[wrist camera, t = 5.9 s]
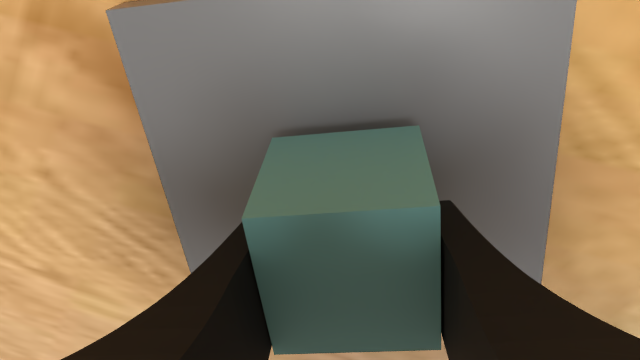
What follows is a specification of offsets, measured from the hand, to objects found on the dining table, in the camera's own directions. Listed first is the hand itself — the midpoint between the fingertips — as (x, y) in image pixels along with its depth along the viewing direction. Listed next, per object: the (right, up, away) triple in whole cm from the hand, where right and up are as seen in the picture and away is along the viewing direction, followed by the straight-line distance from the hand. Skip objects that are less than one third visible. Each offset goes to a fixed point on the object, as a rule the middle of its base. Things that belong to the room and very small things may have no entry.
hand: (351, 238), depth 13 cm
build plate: (0, +2, +3) cm, 4 cm away
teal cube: (0, +1, +1) cm, 2 cm away
